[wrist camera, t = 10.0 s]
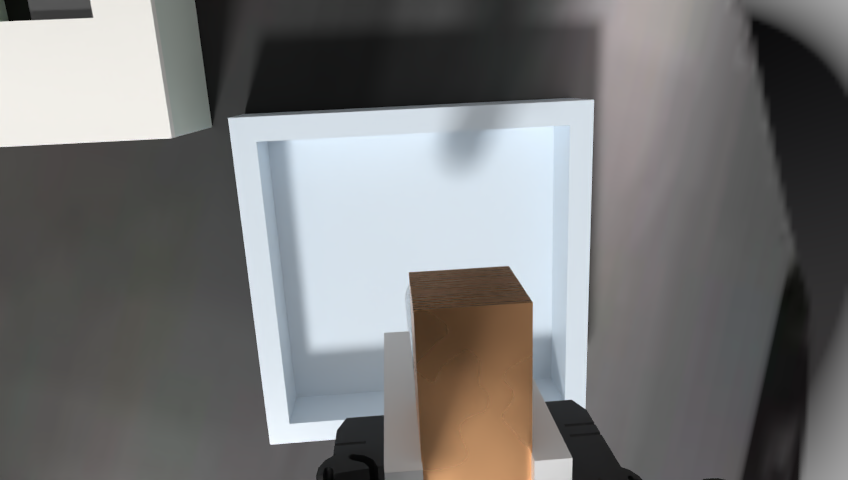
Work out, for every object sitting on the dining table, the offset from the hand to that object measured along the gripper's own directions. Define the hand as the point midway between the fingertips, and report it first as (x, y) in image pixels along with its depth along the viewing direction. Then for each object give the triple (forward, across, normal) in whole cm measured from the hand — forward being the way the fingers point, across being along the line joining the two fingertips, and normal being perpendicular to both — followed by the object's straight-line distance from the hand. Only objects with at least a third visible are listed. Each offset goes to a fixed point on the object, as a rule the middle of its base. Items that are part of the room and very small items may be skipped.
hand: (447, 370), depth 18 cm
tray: (+12, 0, 0) cm, 12 cm away
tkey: (+6, 0, 0) cm, 6 cm away
